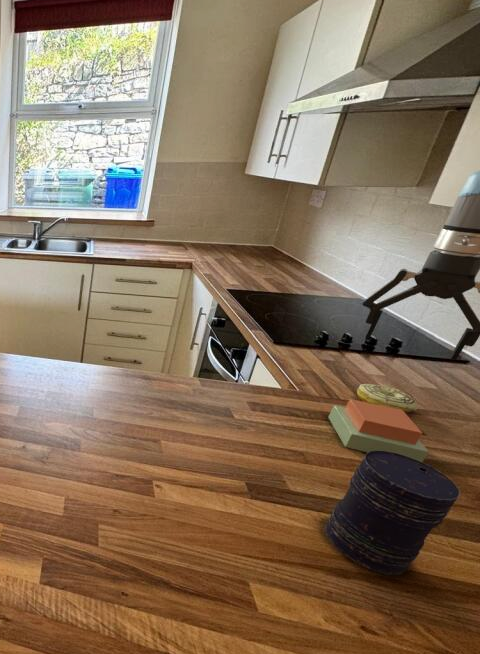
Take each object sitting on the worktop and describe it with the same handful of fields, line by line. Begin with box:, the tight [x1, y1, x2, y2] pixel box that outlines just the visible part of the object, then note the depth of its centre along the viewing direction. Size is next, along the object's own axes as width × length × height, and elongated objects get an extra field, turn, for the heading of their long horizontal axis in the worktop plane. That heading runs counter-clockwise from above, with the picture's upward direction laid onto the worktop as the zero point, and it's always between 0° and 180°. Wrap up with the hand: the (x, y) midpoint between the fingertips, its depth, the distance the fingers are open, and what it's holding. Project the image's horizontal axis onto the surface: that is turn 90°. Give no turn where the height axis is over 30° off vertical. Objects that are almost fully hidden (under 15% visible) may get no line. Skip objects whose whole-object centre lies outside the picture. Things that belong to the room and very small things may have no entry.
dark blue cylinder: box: [324, 451, 461, 576], centre depth 60 cm, size 10×10×15 cm
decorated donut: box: [356, 383, 419, 414], centre depth 100 cm, size 10×11×4 cm
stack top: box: [345, 398, 423, 445], centre depth 86 cm, size 9×9×3 cm
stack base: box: [327, 404, 430, 463], centre depth 87 cm, size 12×12×4 cm
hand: (408, 347), depth 90 cm, fingers open, 13 cm apart
